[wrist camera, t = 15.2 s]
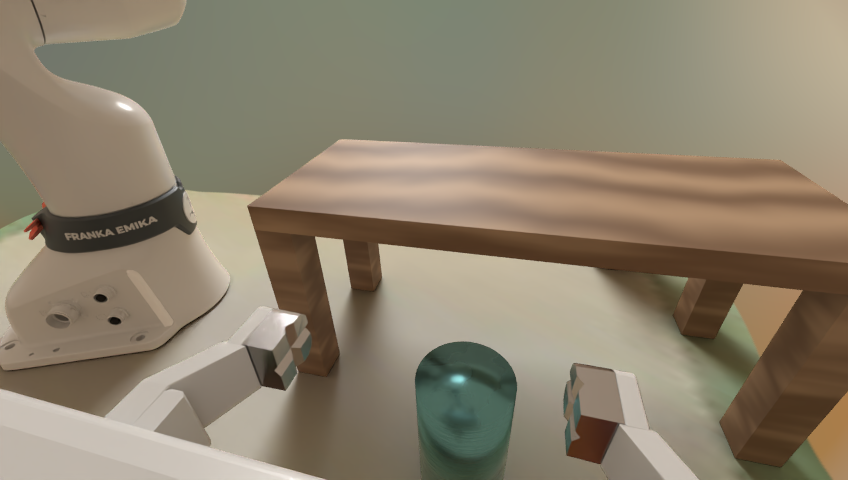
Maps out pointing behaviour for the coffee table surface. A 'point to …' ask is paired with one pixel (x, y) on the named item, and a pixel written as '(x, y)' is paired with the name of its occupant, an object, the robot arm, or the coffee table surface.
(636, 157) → the low shelf
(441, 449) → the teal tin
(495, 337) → the coffee table surface
